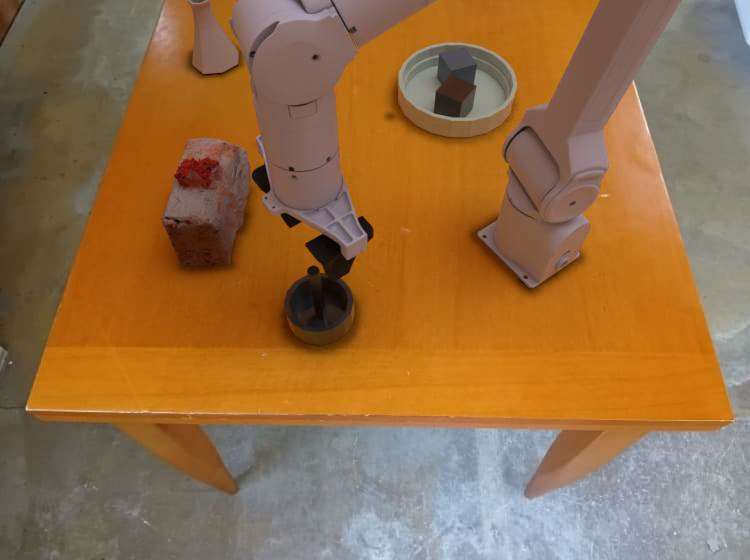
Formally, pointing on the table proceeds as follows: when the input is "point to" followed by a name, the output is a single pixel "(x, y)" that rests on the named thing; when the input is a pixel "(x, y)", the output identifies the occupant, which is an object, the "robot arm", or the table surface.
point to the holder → (304, 314)
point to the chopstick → (317, 292)
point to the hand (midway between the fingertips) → (317, 247)
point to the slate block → (456, 65)
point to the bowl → (422, 84)
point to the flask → (210, 41)
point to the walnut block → (454, 98)
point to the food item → (207, 201)
